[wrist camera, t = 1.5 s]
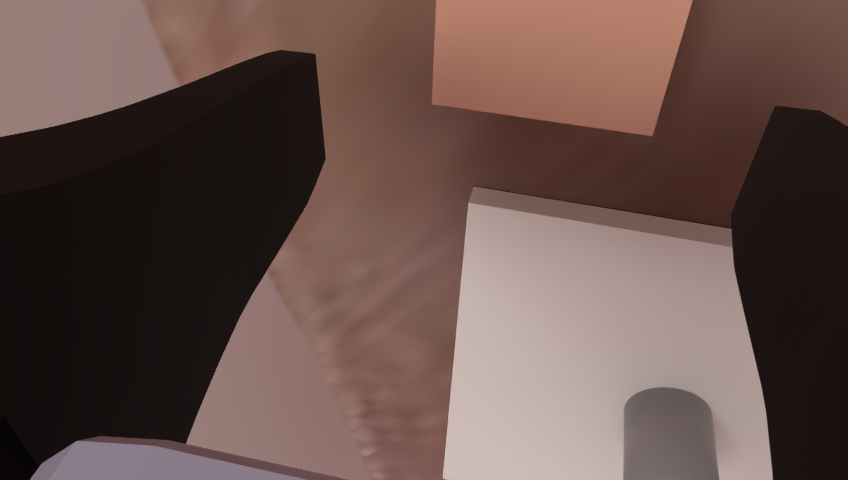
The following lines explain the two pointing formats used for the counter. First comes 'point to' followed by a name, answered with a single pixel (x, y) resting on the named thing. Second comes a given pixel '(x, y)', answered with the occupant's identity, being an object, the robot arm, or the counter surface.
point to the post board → (600, 349)
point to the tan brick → (559, 59)
